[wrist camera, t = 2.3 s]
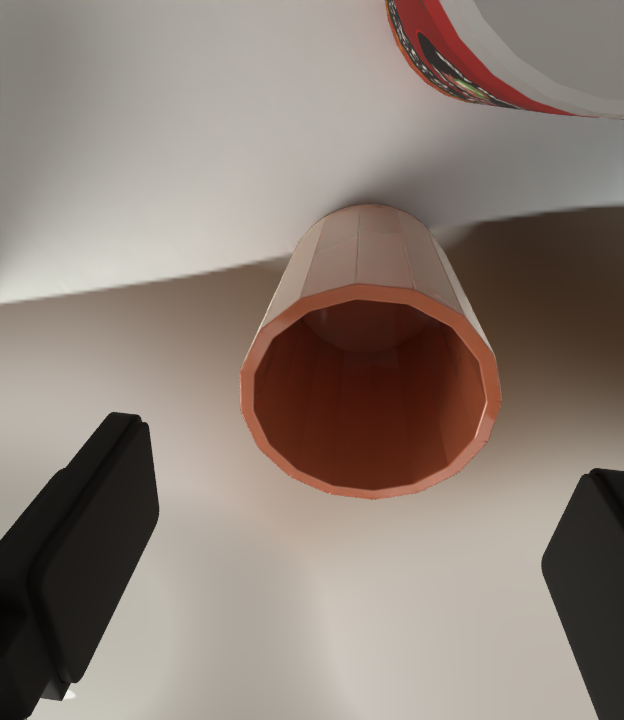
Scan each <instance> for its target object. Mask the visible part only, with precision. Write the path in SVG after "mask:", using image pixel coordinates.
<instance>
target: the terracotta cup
mask: <svg viewBox="0 0 624 720" xmlns="http://www.w3.org/2000/svg"><path fill="white" fill-rule="evenodd" d="M501 403H502V394H501V388H500V382H499V376H498V370H497V364H496V358H495V355H494V353H493V351H492V349H491V347H490V344H489V342H488V341H487V338H486V336H485V334H484V332H483V330H482V328H481V326H480V324H479V322H478V320H477V318H476V316H475V314H474V312H473V309H472V307H471V305H470V303H469V301H468V299H467V297H466V295H465V293H464V291H463V289H462V287H461V285H460V283H459V281H458V279H457V276H456V274H455V272H454V270H453V268H452V266H451V264H450V262H449V260H448V258H447V256H446V254H445V252H444V250H443V249H442V248H441V246H440V245H439V243H438V242H437V240H436V238H435V237H434V235H433V234H432V233H431V232H430V231H429V229H428V228H427V227H426V226H425V225H423V224H422V223H421V222H420V221H419V220H418V219H416V218H414V217H413V216H411V215H410V214H408V213H406V212H404V211H402V210H399V209H396V208H393V207H390V206H385V205H379V204H362V205H354V206H350V207H346V208H342V209H340V210H337V211H335V212H333V213H331V214H329V215H327V216H325V217H324V218H322V219H321V220H320V221H318V222H317V223H316V224H314V225H313V226H312V227H311V228H310V229H309V230H308V231H307V232H306V234H305V235H304V236H303V237H302V238H301V239H300V241H299V243H298V245H297V247H296V249H295V251H294V253H293V255H292V257H291V260H290V262H289V263H288V266H287V268H286V270H285V272H284V274H283V276H282V279H281V281H280V283H279V285H278V287H277V290H276V292H275V294H274V296H273V298H272V301H271V303H270V305H269V307H268V309H267V312H266V314H265V316H264V318H263V320H262V322H261V325H260V327H259V329H258V331H257V333H256V336H255V338H254V340H253V342H252V344H251V347H250V349H249V351H248V353H247V355H246V358H245V360H244V362H243V364H242V367H241V370H240V410H241V414H242V416H243V418H244V420H245V422H246V424H247V426H248V428H249V430H250V432H251V434H252V436H253V438H254V441H255V443H256V445H257V447H258V448H259V449H260V450H261V451H262V452H263V453H264V454H265V455H266V456H267V457H268V458H269V459H271V460H272V461H273V462H274V463H275V464H276V465H277V466H278V467H279V468H280V469H282V470H283V471H284V472H285V473H286V474H287V475H288V476H290V477H292V478H294V479H296V480H299V481H301V482H303V483H305V484H307V485H310V486H312V487H314V488H316V489H319V490H321V491H323V492H326V493H328V494H329V493H330V494H332V495H340V496H348V497H355V498H363V499H371V500H372V499H375V500H376V499H382V498H389V497H395V496H402V495H408V494H414V493H417V492H421V491H423V490H425V489H427V488H429V487H431V486H433V485H435V484H437V483H439V482H441V481H443V480H445V479H447V478H449V477H451V476H454V475H455V474H457V473H458V472H460V471H461V470H462V469H463V468H464V467H465V466H466V464H467V463H468V462H469V461H470V460H471V459H472V458H473V457H474V456H475V455H476V454H477V453H478V452H479V451H480V450H481V449H482V448H483V447H484V446H485V444H486V443H487V442H488V440H489V438H490V435H491V432H492V429H493V426H494V423H495V420H496V417H497V415H498V412H499V408H500V406H501Z"/></svg>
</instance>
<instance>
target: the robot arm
mask: <svg viewBox="0 0 624 720" xmlns="http://www.w3.org/2000/svg"><path fill="white" fill-rule="evenodd" d="M158 517H159V502H158V495H157V487H156V479H155V471H154V463H153V456H152V448H151V439H150V432H149V426H148V424H147V423H146V422H142V420H141V417H140V416H139V415H136V414H127V413H118V412H112V413H110V414H109V415H108V416H107V417H106V418H105V419H104V421H103V422H102V423H101V424H100V426H99V427H98V428H97V429H96V431H95V432H94V433H93V434H92V435H91V437H90V438H89V439H88V440H87V442H86V443H85V444H84V445H83V447H82V448H81V449H80V450H79V452H78V453H77V454H76V455H75V457H74V458H73V459H72V460H71V462H70V463H69V464H68V465H67V466H66V468H63V469H61V470H59V471H58V472H57V473H56V474H55V475H54V476H53V477H52V478H51V479H50V480H49V482H48V483H47V484H46V486H45V487H44V488H43V489H42V490H41V491H40V493H39V494H38V495H37V497H36V498H35V499H34V500H33V501H32V502H31V504H30V505H29V506H28V507H27V509H26V510H25V511H24V512H23V513H22V515H21V516H20V517H19V518H18V520H17V521H16V522H15V523H14V525H13V526H12V527H11V528H10V529H9V531H8V532H7V533H6V534H5V535H4V536H3V538H2V539H1V540H0V720H27V718H28V717H29V716H30V715H31V714H32V712H33V710H34V708H35V706H36V705H37V703H38V701H39V699H40V698H44V699H51V700H58V701H62V700H63V698H64V696H65V694H66V692H67V690H68V688H69V686H70V684H71V683H77V682H79V681H80V679H81V678H82V677H83V675H84V673H85V671H86V669H87V667H88V665H89V663H90V660H91V659H92V657H93V655H94V652H95V650H96V648H97V646H98V644H99V642H100V640H101V638H102V636H103V634H104V632H105V630H106V628H107V626H108V624H109V622H110V619H111V617H112V615H113V613H114V611H115V609H116V607H117V605H118V603H119V601H120V599H121V596H122V595H123V593H124V590H125V588H126V586H127V584H128V582H129V580H130V578H131V576H132V574H133V572H134V570H135V568H136V566H137V564H138V562H139V559H140V557H141V555H142V553H143V551H144V549H145V547H146V545H147V543H148V541H149V539H150V537H151V535H152V533H153V530H154V528H155V526H156V524H157V521H158ZM541 563H542V565H541V567H542V573H543V576H544V579H545V581H546V584H547V586H548V589H549V592H550V594H551V597H552V599H553V602H554V605H555V607H556V610H557V612H558V615H559V618H560V620H561V623H562V625H563V628H564V630H565V633H566V636H567V638H568V641H569V644H570V646H571V649H572V651H573V654H574V657H575V659H576V662H577V664H578V667H579V670H580V672H581V675H582V677H583V680H584V682H585V685H586V688H587V690H588V693H589V695H590V697H591V701H592V703H593V706H594V708H595V711H596V714H597V716H598V719H599V720H624V471H618V470H608V469H600V468H595V469H593V470H591V471H590V473H589V474H584V475H582V477H581V478H580V480H579V482H578V484H577V486H576V488H575V490H574V493H573V495H572V497H571V499H570V501H569V503H568V505H567V507H566V509H565V511H564V514H563V515H562V517H561V519H560V521H559V523H558V526H557V528H556V530H555V532H554V534H553V536H552V538H551V540H550V542H549V544H548V547H547V548H546V550H545V552H544V555H543V557H542V562H541Z"/></svg>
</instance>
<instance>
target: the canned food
mask: <svg viewBox="0 0 624 720" xmlns="http://www.w3.org/2000/svg"><path fill="white" fill-rule="evenodd" d="M385 4H386V10H387V16H388V21H389V24H390V27H391V29H392V32H393V35H394V38H395V41H396V43H397V46H398V47H399V49H400V51H401V52H402V54H403V56H404V57H405V59H406V61H407V62H408V64H409V66H410V67H411V68H412V69H413V70H414V71H415V72H416V73H417V74H418V75H419V76H420V77H421V78H422V79H423V80H424V81H425V82H426V83H427V84H428V85H430V86H432V87H433V88H435V89H436V90H438V91H439V92H441V93H443V94H444V95H446V96H449V97H452V98H455V99H458V100H461V101H464V102H469V103H477V104H484V105H491V106H499V107H506V108H513V109H520V110H528V111H535V112H542V113H550V114H560V115H571V116H582V117H594V118H598V117H603V118H615V119H624V0H385Z"/></svg>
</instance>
